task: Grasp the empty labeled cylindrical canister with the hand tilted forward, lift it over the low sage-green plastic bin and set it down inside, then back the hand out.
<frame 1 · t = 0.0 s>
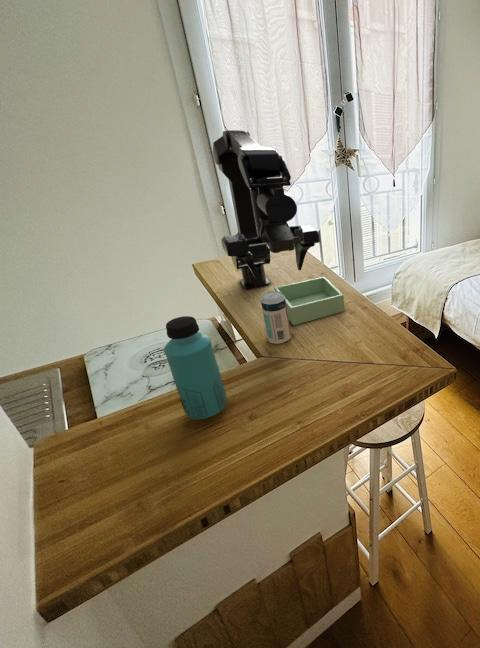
hand: (278, 273, 92), 15 cm above the countertop, tool pointing down, fingers open, 9 cm apart
bin: (310, 307, 108), on the countertop
beverage bottle: (208, 414, 72), on the countertop
labeled cylindrical canister: (280, 340, 94), on the countertop
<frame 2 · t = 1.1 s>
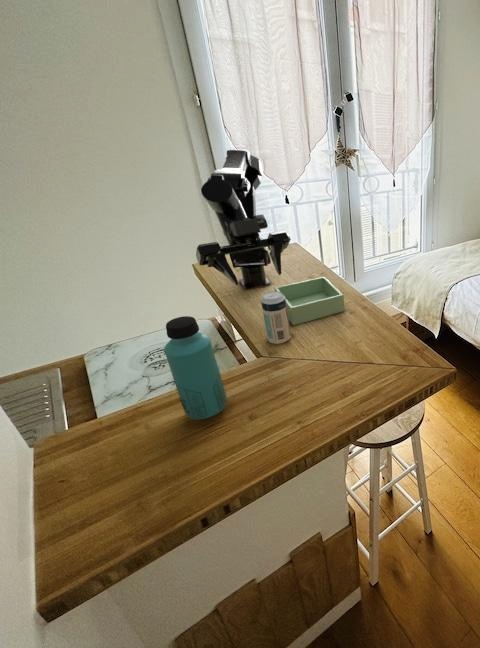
hand: (259, 279, 92), 13 cm above the countertop, tool tilted 45°, fingers open, 9 cm apart
nothing on the countertop moved.
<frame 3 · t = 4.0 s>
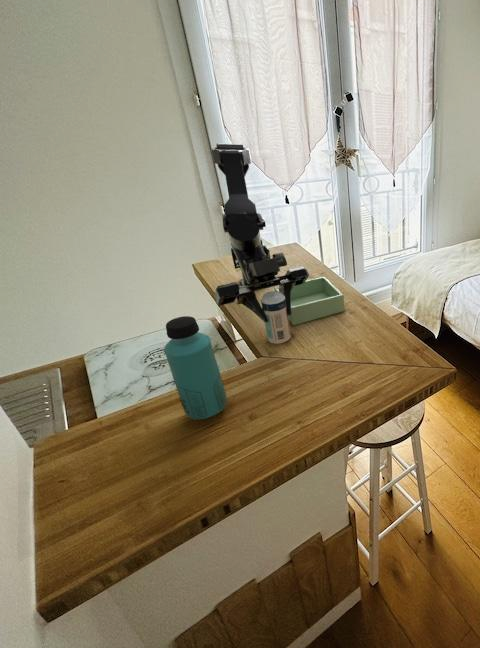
hand: (278, 318, 90), 7 cm above the countertop, tool tilted 45°, fingers closed on labeled cylindrical canister, 5 cm apart
labeled cylindrical canister: (280, 340, 94), on the countertop, touching gripper
everything else where it was.
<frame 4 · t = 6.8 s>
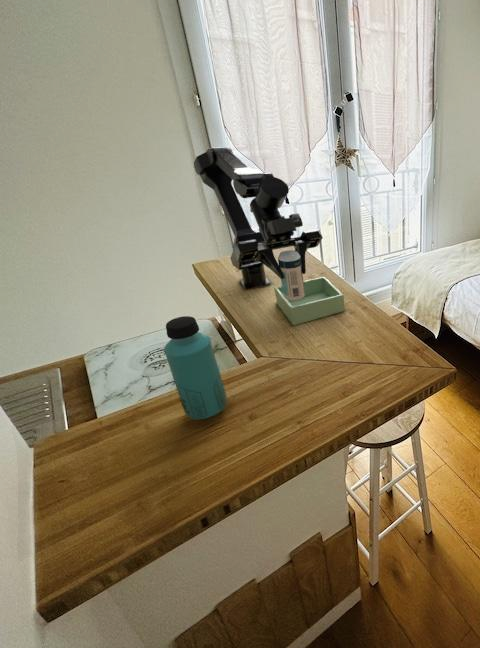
hand: (293, 275, 95), 13 cm above the countertop, tool tilted 45°, fingers closed on labeled cylindrical canister, 5 cm apart
labeled cylindrical canister: (294, 297, 99), point 6 cm above the countertop, touching gripper
everything else where it was.
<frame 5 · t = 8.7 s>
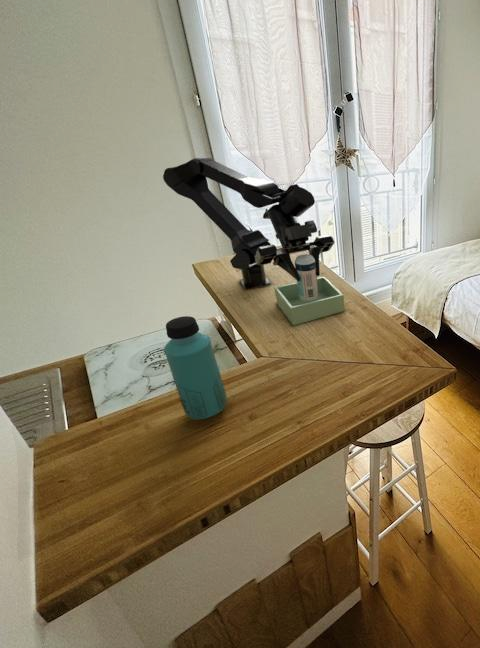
hand: (308, 278, 103), 9 cm above the countertop, tool tilted 45°, fingers closed on labeled cylindrical canister, 5 cm apart
labeled cylindrical canister: (309, 298, 107), point 3 cm above the countertop, touching gripper
everything else where it was.
when the fingers open (7 cm above the countertop, at t = 9.8 s): labeled cylindrical canister stays where it is, resting on bin.
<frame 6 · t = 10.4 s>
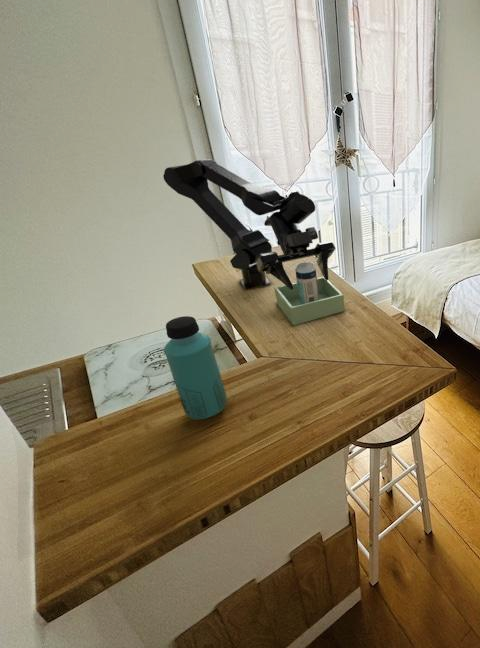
hand: (310, 284, 104), 8 cm above the countertop, tool tilted 45°, fingers open, 9 cm apart
labeled cylindrical canister: (310, 306, 108), resting on bin
everything else where it was.
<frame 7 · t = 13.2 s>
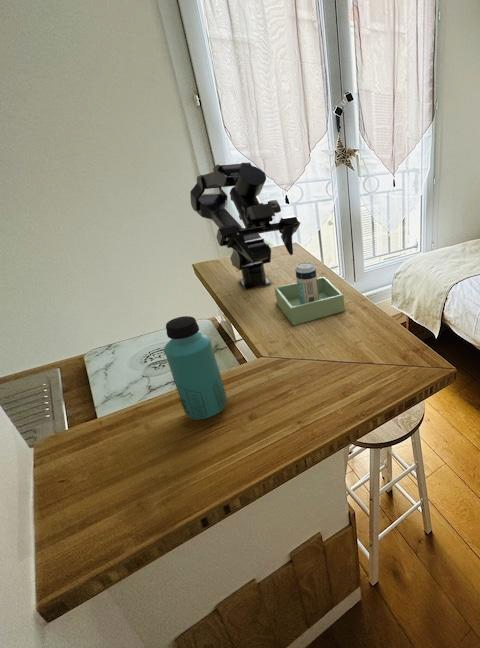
hand: (273, 258, 102), 14 cm above the countertop, tool tilted 45°, fingers open, 9 cm apart
nothing on the countertop moved.
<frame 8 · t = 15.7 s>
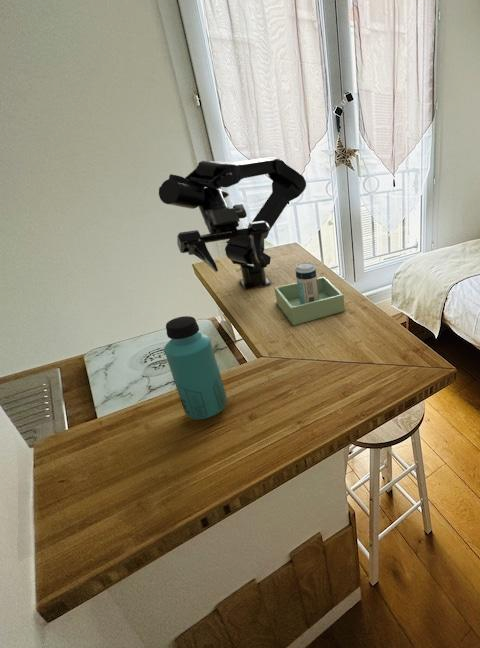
hand: (238, 266, 96), 14 cm above the countertop, tool tilted 45°, fingers open, 9 cm apart
nothing on the countertop moved.
at the end: labeled cylindrical canister inside the target area in the bin (0.1 cm from its centre), point 0.3 cm above the bin's base; labeled cylindrical canister tilted 0°; the gripper is holding nothing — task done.
